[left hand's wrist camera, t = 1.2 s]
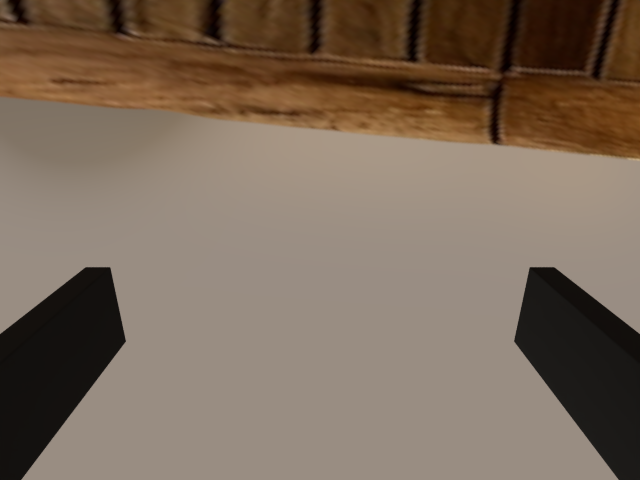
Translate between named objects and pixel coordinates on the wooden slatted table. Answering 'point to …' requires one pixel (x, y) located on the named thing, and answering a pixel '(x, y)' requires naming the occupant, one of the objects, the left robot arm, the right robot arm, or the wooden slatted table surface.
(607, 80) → the wooden slatted table surface
